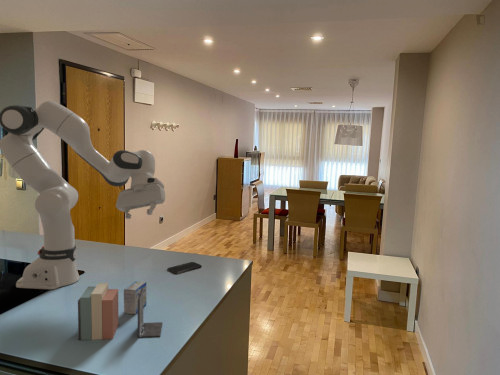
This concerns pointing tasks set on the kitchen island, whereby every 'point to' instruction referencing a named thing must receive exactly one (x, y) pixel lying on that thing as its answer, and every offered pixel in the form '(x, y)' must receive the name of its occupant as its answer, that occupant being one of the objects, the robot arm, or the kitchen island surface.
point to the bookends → (143, 328)
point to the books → (99, 312)
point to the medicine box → (134, 297)
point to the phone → (184, 268)
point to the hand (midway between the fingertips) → (138, 216)
